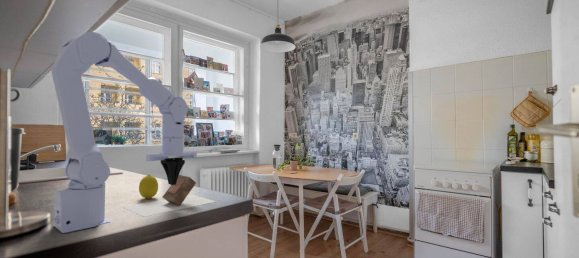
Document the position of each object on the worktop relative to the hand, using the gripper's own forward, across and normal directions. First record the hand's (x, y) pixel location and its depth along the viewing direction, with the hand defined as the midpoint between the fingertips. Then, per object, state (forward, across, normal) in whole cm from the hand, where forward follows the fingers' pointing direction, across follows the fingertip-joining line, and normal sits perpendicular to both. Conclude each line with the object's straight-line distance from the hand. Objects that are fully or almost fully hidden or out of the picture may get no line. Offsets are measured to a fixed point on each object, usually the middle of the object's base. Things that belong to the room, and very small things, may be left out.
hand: (172, 184), depth 87 cm
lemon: (+7, +1, -13) cm, 14 cm away
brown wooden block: (+5, 0, 0) cm, 5 cm away
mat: (+6, 0, -1) cm, 7 cm away
